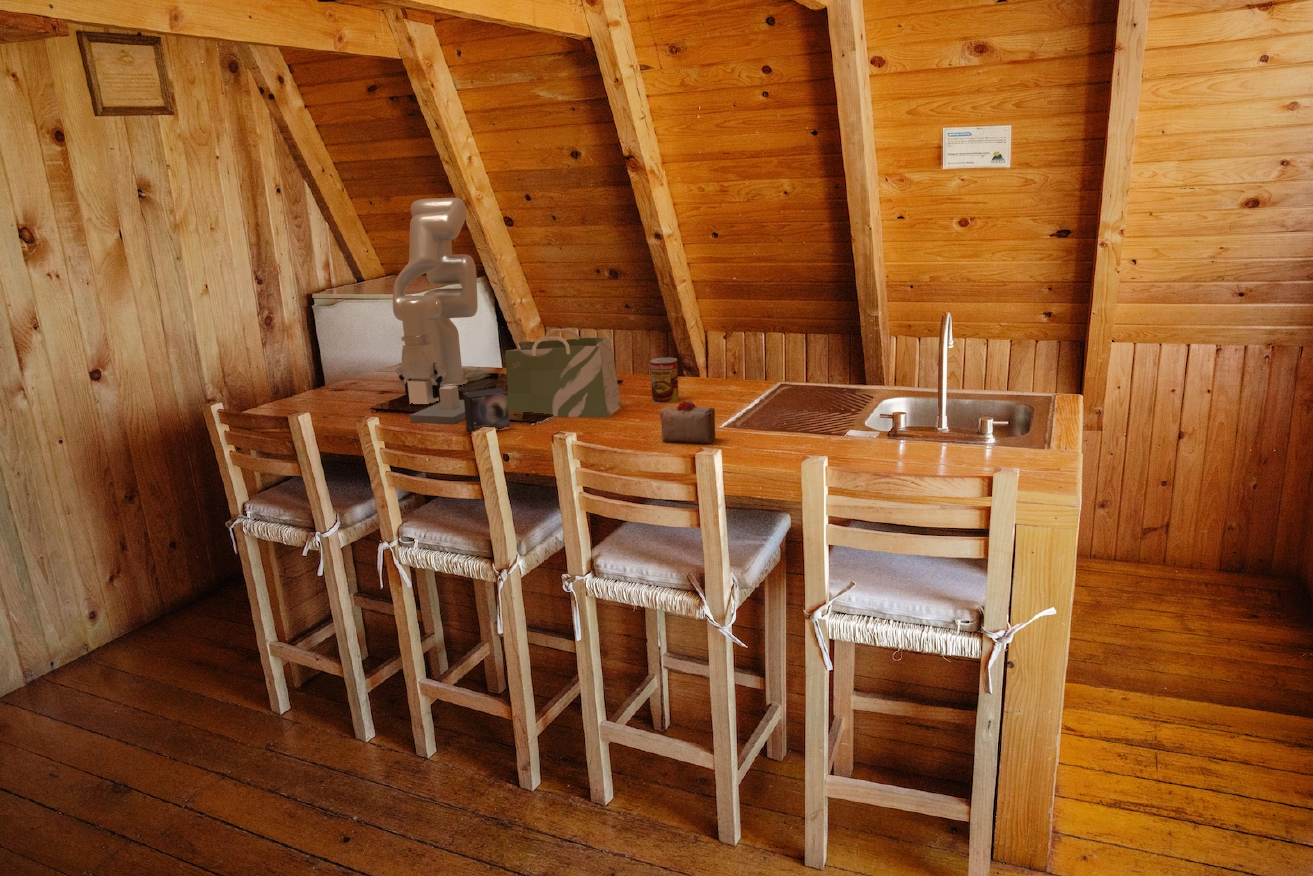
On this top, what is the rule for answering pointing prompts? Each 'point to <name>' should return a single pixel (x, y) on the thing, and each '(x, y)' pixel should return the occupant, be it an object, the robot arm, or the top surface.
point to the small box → (486, 409)
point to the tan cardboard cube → (421, 391)
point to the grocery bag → (563, 377)
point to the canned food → (664, 380)
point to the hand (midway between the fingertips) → (423, 396)
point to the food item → (688, 423)
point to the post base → (440, 414)
